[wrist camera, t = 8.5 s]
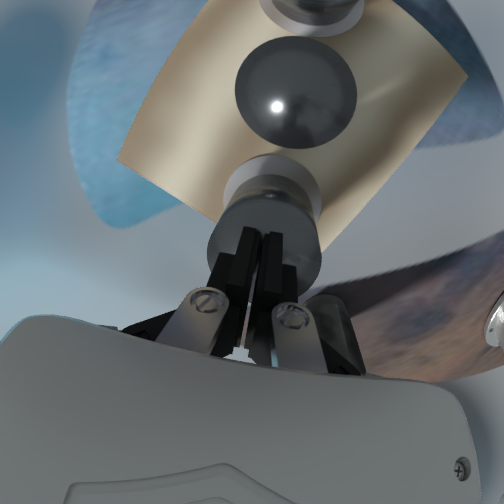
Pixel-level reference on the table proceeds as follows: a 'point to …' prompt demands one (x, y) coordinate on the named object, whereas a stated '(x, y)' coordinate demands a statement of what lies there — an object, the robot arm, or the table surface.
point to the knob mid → (295, 92)
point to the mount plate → (272, 156)
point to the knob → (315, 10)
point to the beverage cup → (336, 327)
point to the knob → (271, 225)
